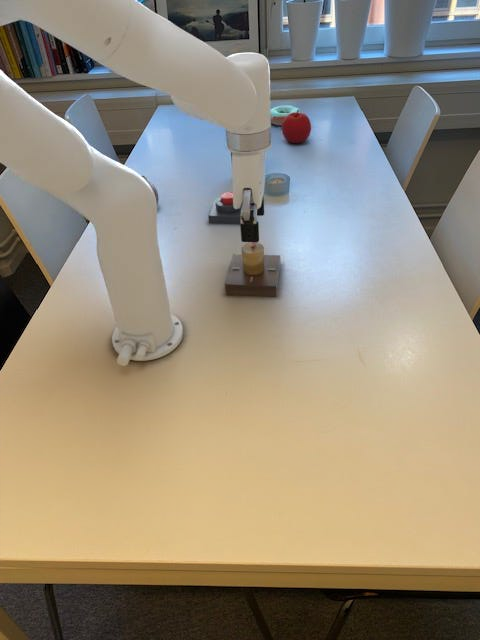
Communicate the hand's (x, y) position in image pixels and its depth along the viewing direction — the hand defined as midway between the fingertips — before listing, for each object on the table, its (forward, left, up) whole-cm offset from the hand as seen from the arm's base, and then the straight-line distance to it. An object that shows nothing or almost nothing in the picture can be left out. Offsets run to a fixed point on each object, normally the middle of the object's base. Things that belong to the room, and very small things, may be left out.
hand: (253, 227), depth 93 cm
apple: (+77, -5, -12) cm, 78 cm away
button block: (+27, +9, -12) cm, 31 cm away
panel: (0, 0, -12) cm, 12 cm away
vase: (+29, +31, -12) cm, 44 cm away
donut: (+96, 0, -12) cm, 96 cm away
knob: (0, 0, -9) cm, 9 cm away
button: (+27, +9, -8) cm, 29 cm away
